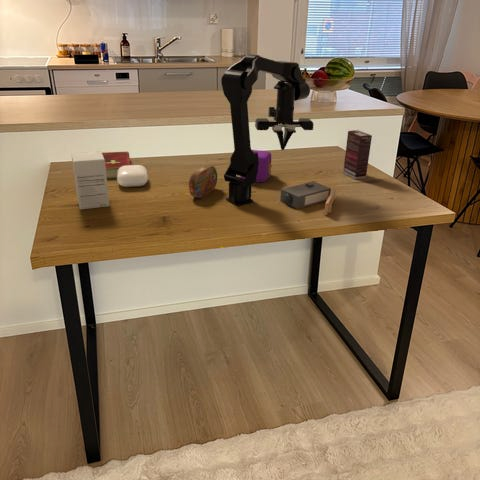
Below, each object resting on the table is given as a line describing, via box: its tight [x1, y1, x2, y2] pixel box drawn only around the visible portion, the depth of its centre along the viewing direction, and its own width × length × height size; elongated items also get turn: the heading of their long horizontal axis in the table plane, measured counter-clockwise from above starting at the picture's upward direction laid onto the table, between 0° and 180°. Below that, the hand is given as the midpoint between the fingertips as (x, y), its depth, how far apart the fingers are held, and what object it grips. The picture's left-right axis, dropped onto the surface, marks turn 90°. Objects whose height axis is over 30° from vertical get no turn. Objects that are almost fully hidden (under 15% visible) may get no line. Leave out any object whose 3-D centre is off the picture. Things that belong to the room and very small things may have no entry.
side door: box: [323, 188, 336, 216], centre depth 147 cm, size 14×2×4 cm, turn 161°
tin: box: [188, 165, 218, 199], centre depth 155 cm, size 15×3×8 cm, turn 155°
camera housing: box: [279, 181, 332, 210], centre depth 152 cm, size 15×8×4 cm, turn 126°
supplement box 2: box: [342, 129, 373, 180], centre depth 174 cm, size 9×5×16 cm, turn 22°
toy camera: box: [240, 149, 273, 183], centre depth 171 cm, size 11×14×10 cm
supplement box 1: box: [71, 151, 110, 210], centre depth 144 cm, size 9×9×15 cm
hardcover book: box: [101, 151, 132, 179], centre depth 178 cm, size 12×21×4 cm, turn 14°
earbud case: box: [116, 164, 149, 188], centre depth 164 cm, size 10×13×5 cm
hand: (282, 149), depth 162 cm, fingers closed
